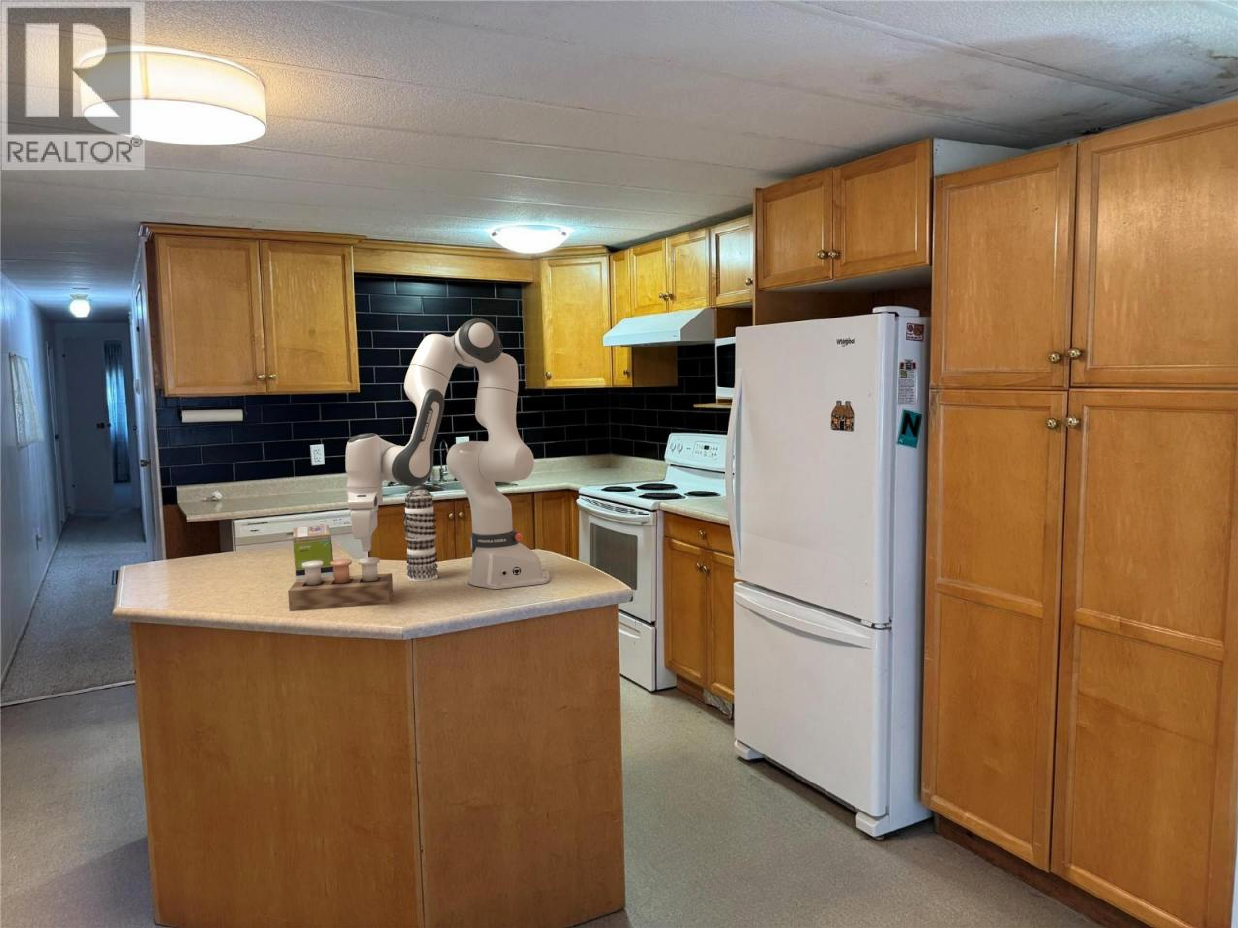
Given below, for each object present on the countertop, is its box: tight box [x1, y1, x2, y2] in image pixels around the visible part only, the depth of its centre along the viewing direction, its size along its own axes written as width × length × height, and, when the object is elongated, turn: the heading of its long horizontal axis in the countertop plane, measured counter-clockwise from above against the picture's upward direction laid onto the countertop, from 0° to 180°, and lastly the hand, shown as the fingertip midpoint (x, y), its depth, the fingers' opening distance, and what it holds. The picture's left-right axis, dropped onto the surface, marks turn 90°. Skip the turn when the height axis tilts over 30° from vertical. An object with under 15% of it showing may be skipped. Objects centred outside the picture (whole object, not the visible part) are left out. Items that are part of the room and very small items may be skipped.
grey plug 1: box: [302, 561, 323, 585], centre depth 213 cm, size 5×5×5 cm
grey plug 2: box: [358, 556, 381, 581], centre depth 216 cm, size 5×5×5 cm
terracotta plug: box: [330, 558, 353, 583], centre depth 215 cm, size 5×5×5 cm
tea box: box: [292, 524, 334, 582], centre depth 236 cm, size 15×10×15 cm, turn 21°
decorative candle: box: [402, 489, 439, 583], centre depth 236 cm, size 9×9×25 cm
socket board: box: [287, 572, 394, 611], centre depth 215 cm, size 24×12×5 cm, turn 100°
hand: (366, 550), depth 215 cm, fingers closed
